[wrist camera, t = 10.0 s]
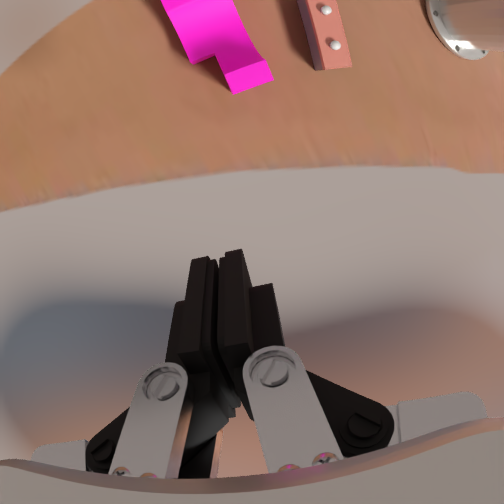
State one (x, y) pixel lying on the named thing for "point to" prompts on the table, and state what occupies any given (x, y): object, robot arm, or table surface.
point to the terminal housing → (325, 34)
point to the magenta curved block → (218, 40)
